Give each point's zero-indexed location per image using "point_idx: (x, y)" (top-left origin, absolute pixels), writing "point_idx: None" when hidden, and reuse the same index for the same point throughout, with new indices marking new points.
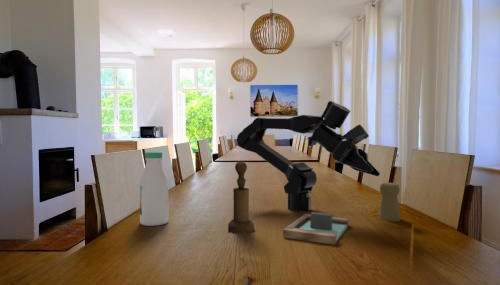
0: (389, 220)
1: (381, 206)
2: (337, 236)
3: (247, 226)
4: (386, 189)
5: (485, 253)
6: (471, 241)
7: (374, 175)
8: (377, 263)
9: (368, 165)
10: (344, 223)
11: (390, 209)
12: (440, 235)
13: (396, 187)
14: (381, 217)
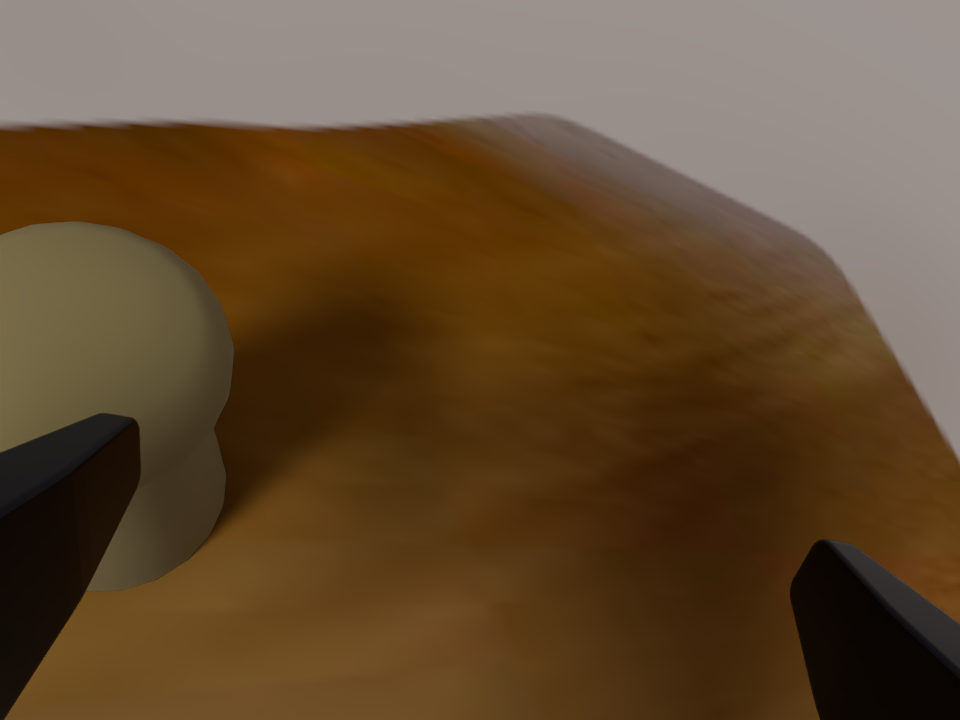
0: (223, 482)
1: (149, 528)
2: None
3: None
4: (219, 410)
5: (609, 161)
6: (466, 136)
7: (105, 545)
8: (926, 581)
9: (941, 621)
10: None
11: (215, 444)
12: (416, 230)
13: (197, 272)
14: (181, 549)
